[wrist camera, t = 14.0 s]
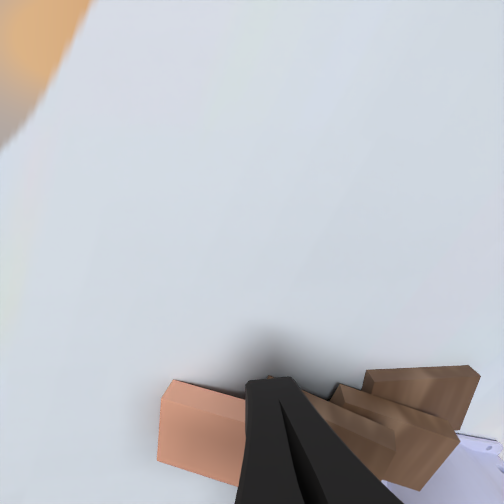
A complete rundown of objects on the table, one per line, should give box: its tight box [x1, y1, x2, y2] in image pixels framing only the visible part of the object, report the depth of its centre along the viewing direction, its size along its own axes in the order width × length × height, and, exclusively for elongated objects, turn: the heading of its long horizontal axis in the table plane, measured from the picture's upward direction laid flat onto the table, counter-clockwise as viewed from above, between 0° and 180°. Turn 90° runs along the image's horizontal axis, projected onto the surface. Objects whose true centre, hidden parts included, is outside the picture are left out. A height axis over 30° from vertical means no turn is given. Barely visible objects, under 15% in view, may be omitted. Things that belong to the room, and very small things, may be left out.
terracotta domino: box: [157, 380, 246, 487], centre depth 20 cm, size 2×5×8 cm
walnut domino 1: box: [267, 375, 396, 481], centre depth 20 cm, size 2×5×8 cm
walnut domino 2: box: [361, 365, 481, 430], centre depth 24 cm, size 2×5×8 cm
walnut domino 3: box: [329, 384, 461, 492], centre depth 22 cm, size 2×5×8 cm
